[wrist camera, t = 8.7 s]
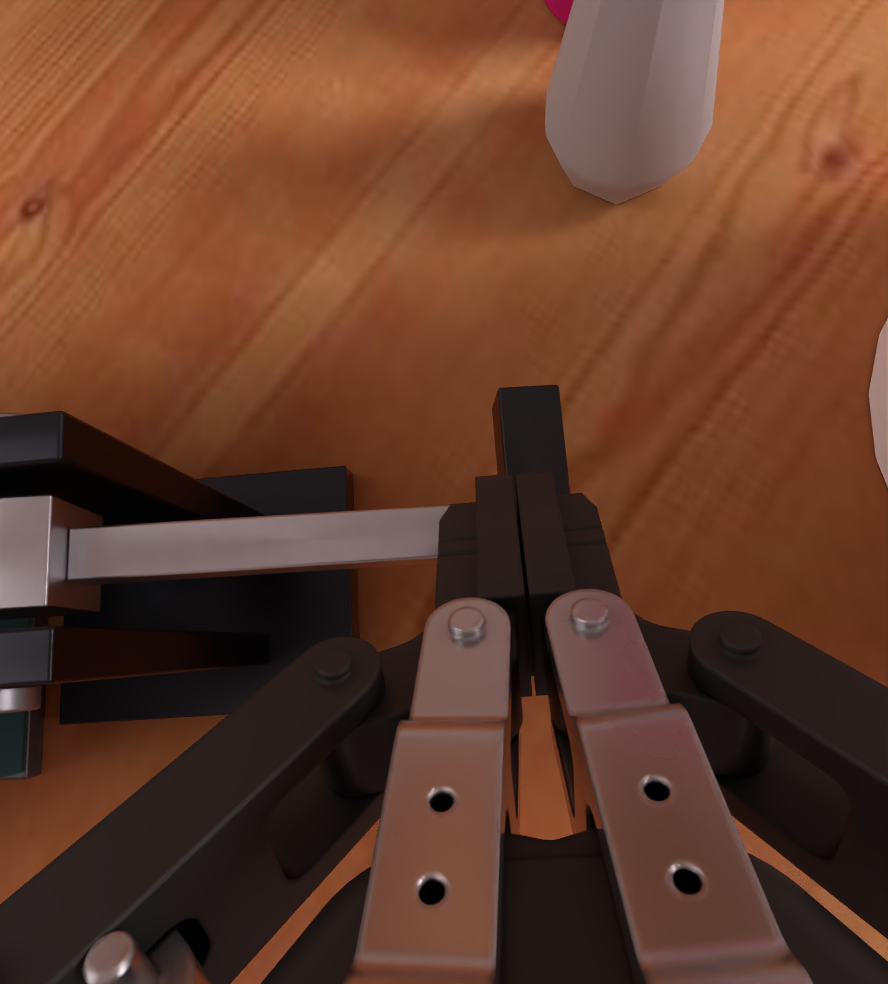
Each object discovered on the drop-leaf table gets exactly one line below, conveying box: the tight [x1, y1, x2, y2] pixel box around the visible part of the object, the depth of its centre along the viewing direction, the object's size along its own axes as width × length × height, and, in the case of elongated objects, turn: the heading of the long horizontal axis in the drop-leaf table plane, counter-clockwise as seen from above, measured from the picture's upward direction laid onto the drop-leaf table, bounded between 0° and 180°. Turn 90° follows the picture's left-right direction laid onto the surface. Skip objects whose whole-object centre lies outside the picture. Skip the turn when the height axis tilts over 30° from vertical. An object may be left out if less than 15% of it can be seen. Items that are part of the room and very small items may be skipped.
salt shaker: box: [545, 0, 724, 205], centre depth 21 cm, size 6×6×13 cm
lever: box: [0, 385, 570, 676], centre depth 15 cm, size 13×6×2 cm, turn 94°
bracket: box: [0, 411, 360, 725], centre depth 19 cm, size 10×8×13 cm
